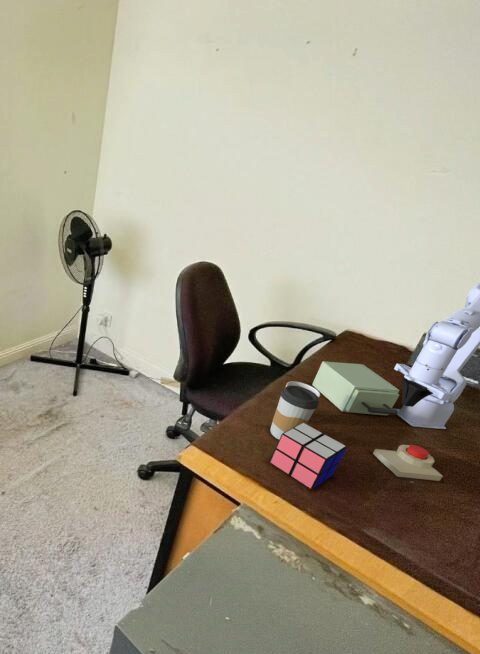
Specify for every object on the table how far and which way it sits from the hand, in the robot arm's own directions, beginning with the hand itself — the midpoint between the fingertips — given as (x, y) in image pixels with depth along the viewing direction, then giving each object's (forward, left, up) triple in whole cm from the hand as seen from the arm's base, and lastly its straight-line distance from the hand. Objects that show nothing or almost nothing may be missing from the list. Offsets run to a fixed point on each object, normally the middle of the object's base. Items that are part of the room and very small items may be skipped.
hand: (407, 404), depth 115 cm
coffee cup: (+33, +6, -11) cm, 35 cm away
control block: (+7, +14, -10) cm, 19 cm away
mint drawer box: (+1, -16, -10) cm, 19 cm away
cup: (+25, -4, -11) cm, 28 cm away
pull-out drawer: (+1, -12, -9) cm, 15 cm away
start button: (+5, +12, -7) cm, 15 cm away
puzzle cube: (+36, +19, -11) cm, 42 cm away
